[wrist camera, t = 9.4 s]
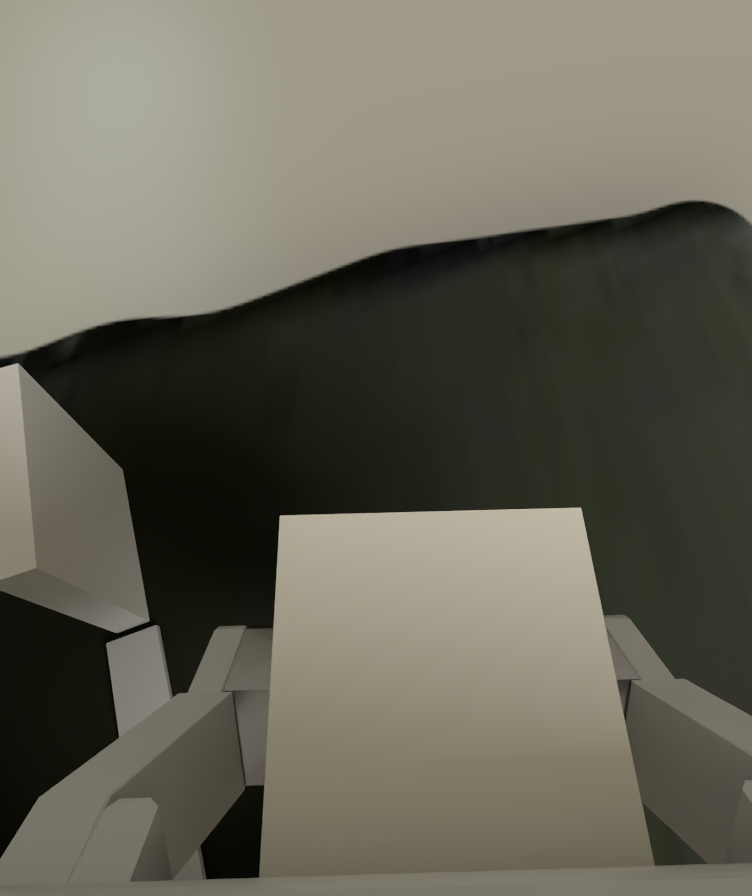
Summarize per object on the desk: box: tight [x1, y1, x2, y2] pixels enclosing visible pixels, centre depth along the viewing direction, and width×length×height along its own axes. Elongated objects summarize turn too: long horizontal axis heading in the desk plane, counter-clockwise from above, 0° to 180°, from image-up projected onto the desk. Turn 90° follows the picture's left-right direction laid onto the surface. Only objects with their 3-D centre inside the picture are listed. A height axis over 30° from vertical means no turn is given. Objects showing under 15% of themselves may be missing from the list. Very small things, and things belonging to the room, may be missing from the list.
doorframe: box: [0, 363, 206, 880], centre depth 13 cm, size 28×2×8 cm, turn 21°
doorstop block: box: [259, 508, 655, 878], centre depth 10 cm, size 4×4×8 cm
